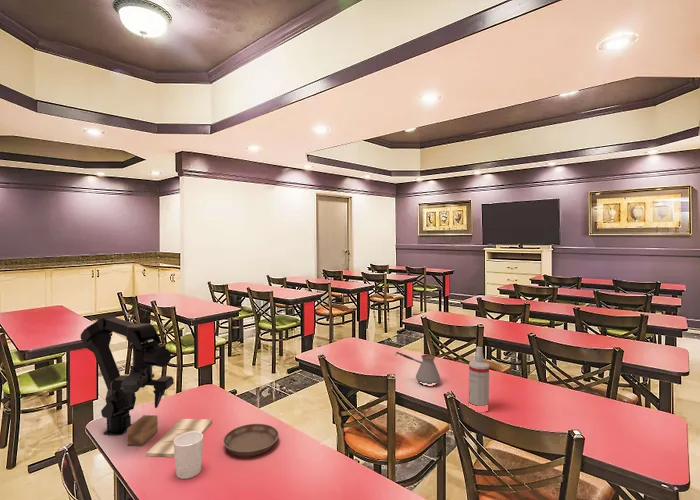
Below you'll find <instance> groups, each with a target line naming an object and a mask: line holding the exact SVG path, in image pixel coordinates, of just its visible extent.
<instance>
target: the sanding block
mask: <svg viewBox="0 0 700 500" xmlns="http://www.w3.org/2000/svg"><path fill="white" fill-rule="evenodd" d="M131 424H132V425H131V426H130V427H128V428H127V431H126V432H127V434H126V435H127V436H126V437H127V447H143V446H145V445H146V443H147V442H148V441H150V440H151V439H152V438H153V437H154V436H155V435H156V434H157V433H158V430H159V429H158V424H159V423H158V415H147V414H146V415H145V414H143V415H142V416H141V417H139V418H138V419H136V420H135V422H133V423H131Z"/></svg>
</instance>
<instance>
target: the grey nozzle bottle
mask: <svg viewBox="0 0 700 500" xmlns="http://www.w3.org/2000/svg"><path fill="white" fill-rule="evenodd" d="M475 351H476V352H475V355H474V360H470V361H469V363H468V366H469V367H468V404H469V403H470V404H472V405H475V406H485V405H488V403H490V395H489V394H490V364H489V363H488V362H487V361H484V360H485V359H484V353H483V347H482V346H476V350H475Z"/></svg>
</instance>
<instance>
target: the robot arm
mask: <svg viewBox="0 0 700 500" xmlns="http://www.w3.org/2000/svg"><path fill="white" fill-rule="evenodd" d="M112 333H116V334H118V335H121V336H124V337H126V341H128V342H129V343H130V345H129V346H128V348H129V349H132V366H131V367H130V370H129V373H128V375H125V374H123V375H121V373H120V371H119V368H118V366H117V363H116V360H115V358H114V356H113V352H112V350H111V348H110V344H111V341H112V336H111V334H112ZM80 340H81V342H82V343H83V345H84V347H85V348H86V349H87V350H89V351H90V352H92V353H93V355H94V358H95V360H96V362H97V364H98V368H99V370H100V374H101V375H102V379H103V381H104V383H105V386H106V389H107V391H106V395H105V403H106V404H105V405H104V406H103V408H102V409H101V410H100V413H101V416H102V418H105V419H106V430H105V431H104V432H103V435H118V436H120V435H123V434H124V433H125V432H127V428H128V427H130V426H131V425H132V424H133V423H131V421H132V419H131V414H130V411H131V410H134V408H135V405H136V401H137V397H136V393H137V392H138V391H140V389H141V388H145V387H146V386H153V388H154V390H153V391H152V393H153V394H154V408H155V409H157V408H158V407H159V404H160V402H161V400H162V398H163V395H164V393H165V391H167V390H168V389H169V388H170V387H172V386H173V385H174V382H175V381H174V380H175V379H174V377H173V376H172V375H171V376H169V375H165V376H164V375H162V376H160V377H159V378H157V379H153V378H155V373H153V367H154V366H155V367H159V368H163V367H166V366H167V365H168V364H169V363H170V361H171V358H172V354H171V351H170V350H169V349H167V347H166V345H165V344H164V345H163V344H162V343H163V341H162V339H161V337H160V336H159V334H158V332H157V330H156V328H155V327H154V325H153V324H151V323H135V322H131V321H128V320H125V319H121V318H119V317H116V316H115V315H108V316H102V317H100V318H98V319H97V320H96V321H95V322H93V323H92V324H90V325H89V326H87V327H86V328H84V329H83V331H82V332H81V334H80Z"/></svg>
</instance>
